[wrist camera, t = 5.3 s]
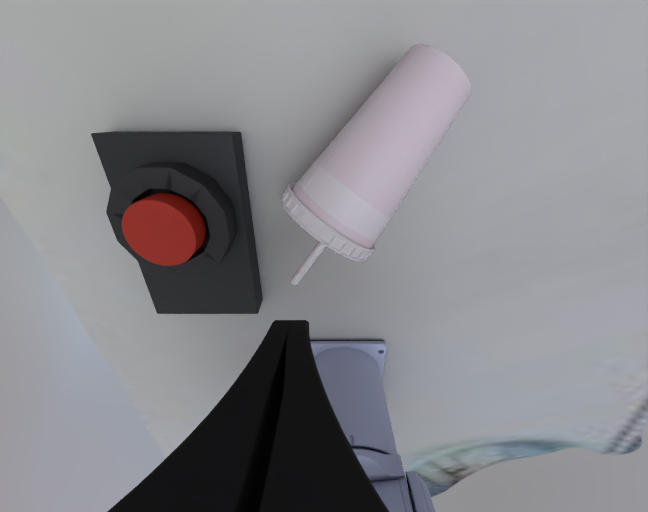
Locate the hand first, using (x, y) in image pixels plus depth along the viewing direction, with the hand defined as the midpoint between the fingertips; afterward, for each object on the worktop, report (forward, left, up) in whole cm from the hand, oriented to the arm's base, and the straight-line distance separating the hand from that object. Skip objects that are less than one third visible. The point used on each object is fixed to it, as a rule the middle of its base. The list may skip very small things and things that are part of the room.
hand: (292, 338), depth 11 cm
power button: (+2, +8, -7) cm, 11 cm away
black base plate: (+1, +8, -10) cm, 13 cm away
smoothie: (+10, -7, -8) cm, 15 cm away
